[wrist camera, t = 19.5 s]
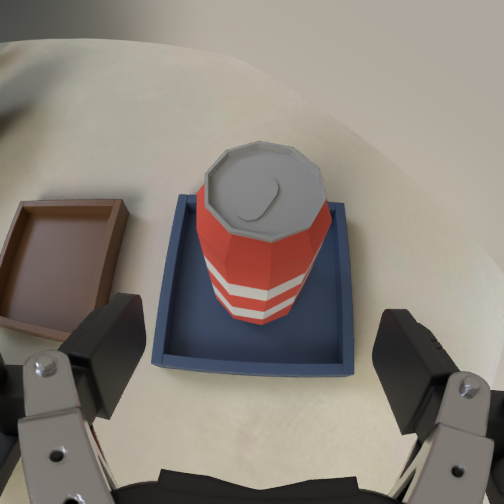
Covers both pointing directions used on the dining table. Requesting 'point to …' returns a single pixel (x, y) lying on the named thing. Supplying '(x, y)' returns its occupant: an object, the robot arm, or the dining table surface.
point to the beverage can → (261, 228)
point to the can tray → (249, 334)
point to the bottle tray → (59, 264)
